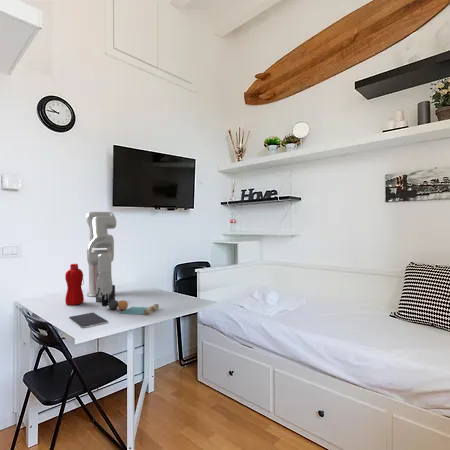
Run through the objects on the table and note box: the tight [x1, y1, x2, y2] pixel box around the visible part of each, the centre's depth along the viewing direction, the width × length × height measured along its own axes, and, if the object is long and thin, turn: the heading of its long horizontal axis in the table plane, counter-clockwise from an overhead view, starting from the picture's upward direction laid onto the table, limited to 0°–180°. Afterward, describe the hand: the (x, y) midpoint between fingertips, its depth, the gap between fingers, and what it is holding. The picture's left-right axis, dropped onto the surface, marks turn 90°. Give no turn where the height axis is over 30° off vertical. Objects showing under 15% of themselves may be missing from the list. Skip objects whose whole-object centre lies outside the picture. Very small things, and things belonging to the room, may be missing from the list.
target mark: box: [119, 306, 149, 316], centre depth 183 cm, size 14×14×1 cm
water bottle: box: [64, 263, 85, 306], centre depth 201 cm, size 9×11×25 cm
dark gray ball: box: [107, 299, 119, 311], centre depth 186 cm, size 6×6×6 cm
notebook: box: [68, 311, 109, 328], centre depth 166 cm, size 13×2×21 cm
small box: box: [95, 284, 116, 304], centre depth 206 cm, size 11×6×10 cm, turn 74°
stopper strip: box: [143, 303, 159, 316], centre depth 181 cm, size 14×2×2 cm, turn 167°
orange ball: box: [117, 299, 129, 311], centre depth 185 cm, size 6×6×6 cm
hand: (105, 305), depth 188 cm, fingers closed
